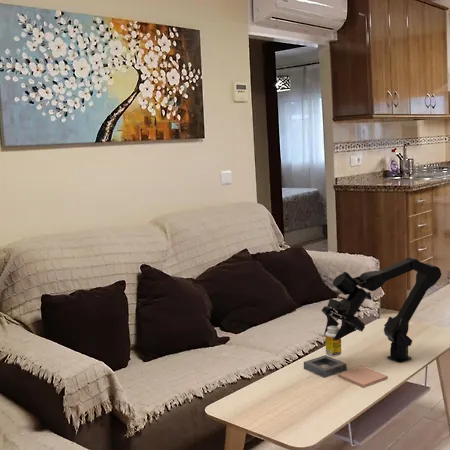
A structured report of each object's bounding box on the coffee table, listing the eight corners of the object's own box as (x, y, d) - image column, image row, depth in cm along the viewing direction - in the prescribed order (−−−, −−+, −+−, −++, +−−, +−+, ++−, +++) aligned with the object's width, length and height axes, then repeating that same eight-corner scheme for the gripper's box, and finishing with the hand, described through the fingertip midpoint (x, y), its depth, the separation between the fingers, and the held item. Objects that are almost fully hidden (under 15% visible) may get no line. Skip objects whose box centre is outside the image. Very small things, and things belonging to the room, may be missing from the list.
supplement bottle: (333, 358, 211) (332, 330, 210) (322, 354, 216) (321, 327, 215) (344, 354, 214) (343, 327, 213) (334, 350, 219) (333, 323, 217)
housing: (325, 361, 225) (325, 355, 225) (346, 370, 216) (346, 363, 216) (303, 368, 219) (303, 361, 219) (324, 377, 210) (324, 371, 210)
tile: (362, 368, 217) (362, 365, 217) (387, 378, 207) (387, 376, 207) (338, 376, 211) (338, 374, 210) (363, 387, 201) (363, 384, 201)
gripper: (324, 285, 222) (301, 319, 218) (357, 295, 205) (333, 332, 202) (342, 301, 226) (319, 335, 223) (375, 313, 210) (351, 349, 207)
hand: (330, 337), depth 214 cm, fingers closed on supplement bottle, 5 cm apart
